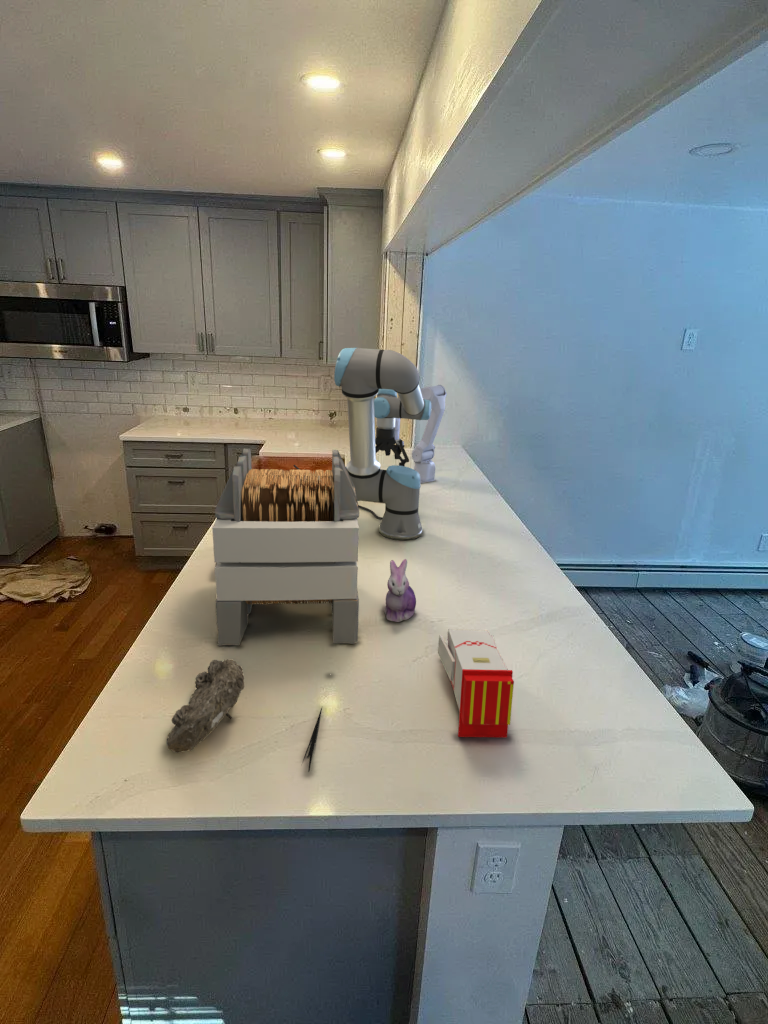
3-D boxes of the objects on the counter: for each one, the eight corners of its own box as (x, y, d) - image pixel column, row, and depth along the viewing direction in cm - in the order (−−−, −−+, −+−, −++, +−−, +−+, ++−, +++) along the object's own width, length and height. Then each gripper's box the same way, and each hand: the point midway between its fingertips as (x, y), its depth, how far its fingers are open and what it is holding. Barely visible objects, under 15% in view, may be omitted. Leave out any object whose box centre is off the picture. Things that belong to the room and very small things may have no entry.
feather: (331, 679, 122) (336, 673, 122) (307, 777, 96) (313, 769, 95) (324, 675, 122) (329, 669, 121) (298, 772, 95) (304, 764, 95)
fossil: (192, 660, 117) (244, 628, 112) (224, 691, 120) (276, 661, 115) (142, 746, 98) (202, 712, 93) (182, 779, 101) (242, 748, 96)
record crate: (235, 580, 161) (228, 439, 147) (350, 579, 165) (354, 441, 151) (215, 647, 129) (204, 476, 115) (358, 644, 133) (363, 478, 119)
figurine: (392, 627, 141) (395, 572, 136) (374, 608, 149) (376, 556, 144) (425, 619, 145) (429, 566, 140) (405, 601, 154) (408, 550, 149)
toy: (488, 613, 130) (523, 677, 101) (484, 667, 133) (517, 744, 104) (435, 612, 130) (455, 676, 101) (432, 666, 133) (451, 743, 103)
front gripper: (414, 425, 230) (411, 475, 237) (353, 425, 225) (352, 476, 232) (418, 429, 223) (415, 481, 230) (355, 429, 218) (354, 481, 225)
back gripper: (378, 427, 272) (377, 454, 277) (395, 433, 261) (394, 461, 266) (390, 426, 276) (388, 453, 281) (408, 431, 265) (406, 460, 270)
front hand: (383, 478), depth 231 cm, fingers open, 13 cm apart
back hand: (392, 457), depth 274 cm, fingers open, 7 cm apart
